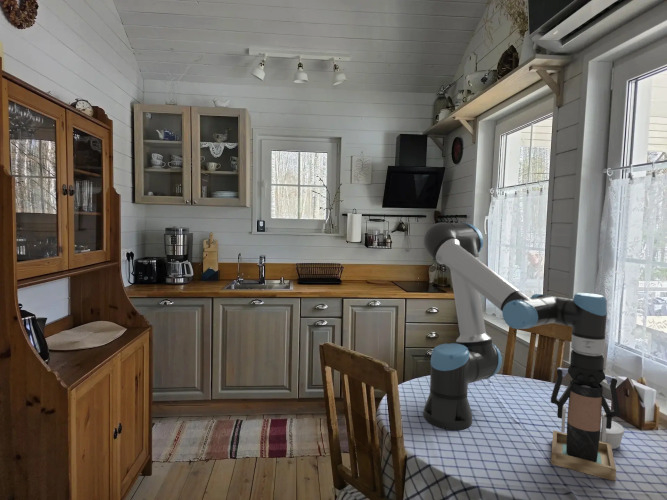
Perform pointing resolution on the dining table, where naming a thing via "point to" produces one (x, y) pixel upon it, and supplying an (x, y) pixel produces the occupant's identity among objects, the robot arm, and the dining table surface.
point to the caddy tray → (599, 468)
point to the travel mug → (584, 421)
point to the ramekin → (613, 434)
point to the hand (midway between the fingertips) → (582, 434)
